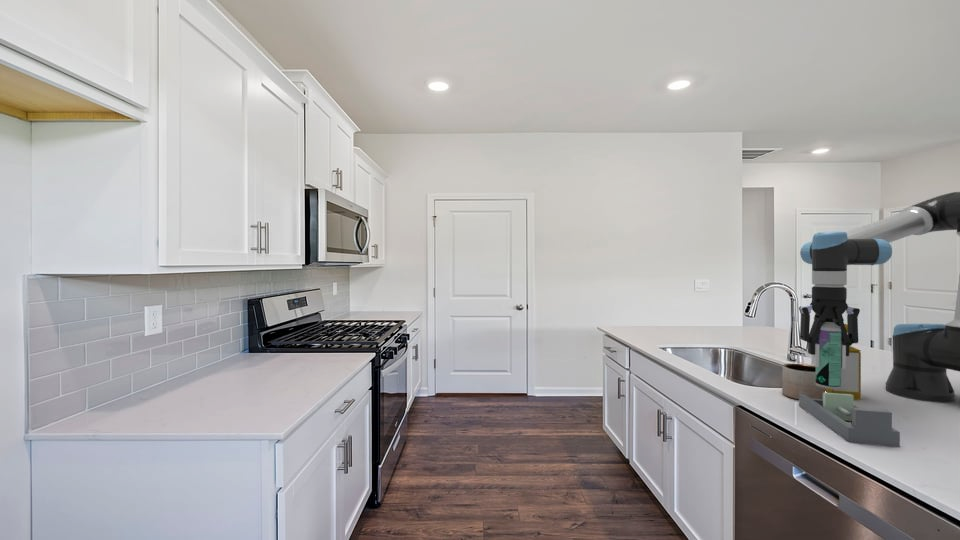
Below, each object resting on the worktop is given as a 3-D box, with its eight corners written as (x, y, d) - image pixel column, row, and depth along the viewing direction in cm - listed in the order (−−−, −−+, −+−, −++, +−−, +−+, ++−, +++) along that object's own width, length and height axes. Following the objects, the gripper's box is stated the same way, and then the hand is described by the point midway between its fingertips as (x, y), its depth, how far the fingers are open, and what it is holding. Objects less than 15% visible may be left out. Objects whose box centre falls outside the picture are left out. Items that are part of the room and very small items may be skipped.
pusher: (850, 419, 110) (850, 394, 109) (862, 427, 105) (862, 400, 104) (822, 417, 111) (822, 392, 111) (833, 424, 106) (833, 398, 106)
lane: (838, 408, 118) (838, 381, 118) (899, 446, 94) (899, 413, 94) (799, 405, 121) (799, 379, 121) (848, 441, 97) (848, 409, 97)
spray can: (830, 383, 117) (831, 315, 116) (846, 389, 111) (846, 318, 111) (810, 383, 117) (811, 315, 117) (825, 389, 112) (825, 318, 111)
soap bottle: (839, 403, 123) (839, 327, 122) (822, 390, 134) (822, 321, 134) (869, 405, 120) (870, 328, 119) (849, 392, 132) (849, 322, 131)
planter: (815, 393, 132) (815, 364, 132) (832, 404, 122) (832, 373, 122) (776, 390, 136) (776, 362, 135) (790, 400, 125) (790, 370, 125)
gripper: (860, 285, 114) (859, 365, 115) (784, 284, 120) (784, 361, 120) (877, 287, 107) (876, 372, 108) (796, 286, 113) (796, 367, 113)
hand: (828, 366), depth 114 cm, fingers closed on spray can, 5 cm apart
